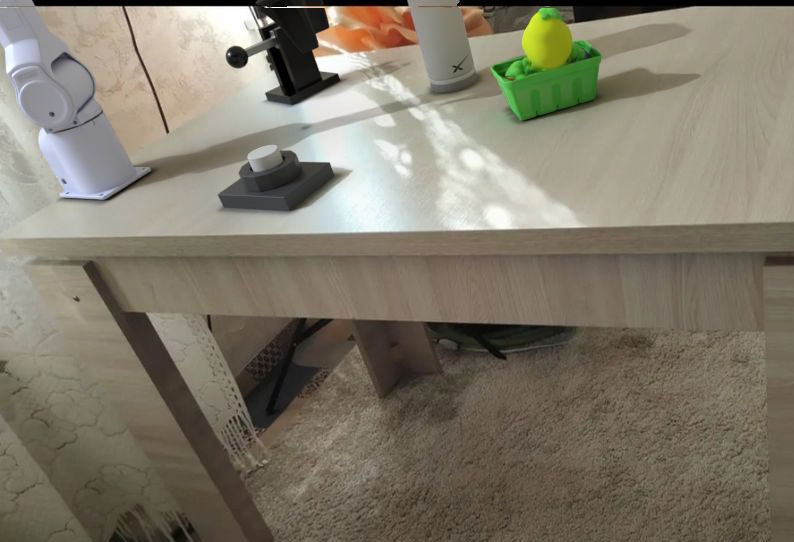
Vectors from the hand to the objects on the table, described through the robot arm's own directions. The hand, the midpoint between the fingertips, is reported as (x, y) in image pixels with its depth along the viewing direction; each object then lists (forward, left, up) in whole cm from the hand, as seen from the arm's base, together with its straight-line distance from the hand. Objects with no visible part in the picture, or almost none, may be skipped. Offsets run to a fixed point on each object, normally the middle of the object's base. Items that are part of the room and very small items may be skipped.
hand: (316, 40), depth 94 cm
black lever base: (-16, +11, -10) cm, 22 cm away
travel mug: (+11, +11, -11) cm, 19 cm away
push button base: (+5, -19, -10) cm, 22 cm away
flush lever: (-18, +7, -4) cm, 19 cm away
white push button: (+5, -19, -7) cm, 21 cm away
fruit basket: (+29, +3, -11) cm, 31 cm away
